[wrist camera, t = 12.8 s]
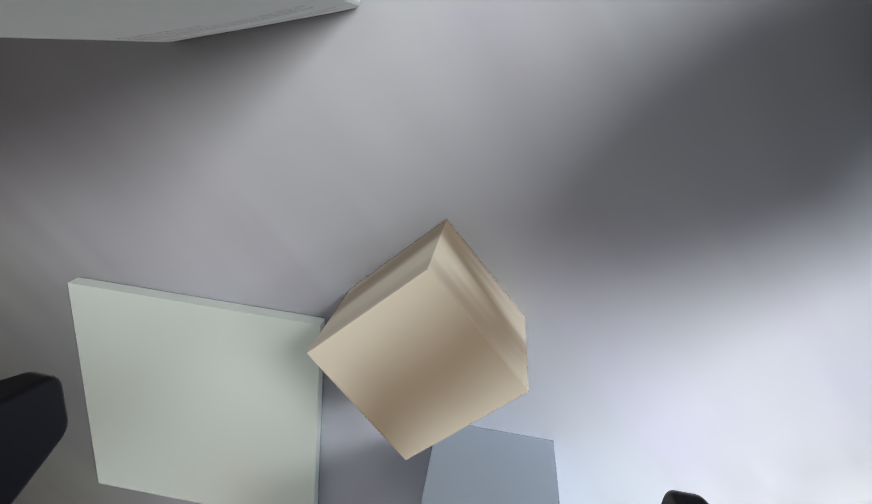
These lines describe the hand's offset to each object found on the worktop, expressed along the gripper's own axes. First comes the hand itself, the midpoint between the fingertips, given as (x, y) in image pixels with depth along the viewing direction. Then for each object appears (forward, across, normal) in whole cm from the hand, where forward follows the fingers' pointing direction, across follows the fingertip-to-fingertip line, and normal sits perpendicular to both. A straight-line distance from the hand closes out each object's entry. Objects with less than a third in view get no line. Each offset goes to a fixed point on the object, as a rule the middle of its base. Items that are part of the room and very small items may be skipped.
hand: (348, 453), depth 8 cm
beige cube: (+13, 0, +4) cm, 14 cm away
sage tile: (+13, +10, +11) cm, 20 cm away
